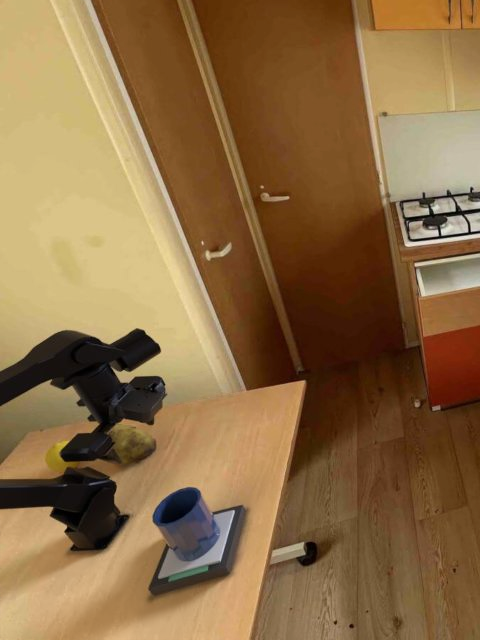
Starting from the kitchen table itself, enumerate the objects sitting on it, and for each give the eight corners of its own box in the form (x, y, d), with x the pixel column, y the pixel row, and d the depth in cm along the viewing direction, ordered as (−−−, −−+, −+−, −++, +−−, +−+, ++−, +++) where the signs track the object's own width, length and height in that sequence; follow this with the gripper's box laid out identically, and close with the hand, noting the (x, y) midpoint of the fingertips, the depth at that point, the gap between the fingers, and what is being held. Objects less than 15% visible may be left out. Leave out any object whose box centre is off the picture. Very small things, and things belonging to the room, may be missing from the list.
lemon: (86, 453, 99) (70, 429, 95) (91, 466, 96) (75, 443, 92) (54, 469, 95) (36, 445, 92) (58, 484, 92) (39, 460, 88)
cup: (169, 567, 75) (145, 531, 70) (183, 528, 81) (162, 493, 76) (214, 554, 77) (193, 519, 72) (224, 517, 83) (206, 482, 78)
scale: (230, 574, 77) (225, 565, 76) (153, 596, 74) (146, 587, 73) (246, 511, 87) (242, 502, 86) (179, 528, 84) (174, 519, 83)
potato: (125, 480, 93) (109, 456, 89) (91, 459, 98) (75, 436, 94) (165, 450, 100) (151, 426, 96) (132, 432, 104) (118, 409, 101)
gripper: (104, 428, 71) (143, 484, 79) (176, 353, 88) (203, 405, 95) (36, 431, 71) (81, 487, 78) (121, 355, 87) (152, 407, 95)
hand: (135, 443), depth 87 cm, fingers open, 9 cm apart
